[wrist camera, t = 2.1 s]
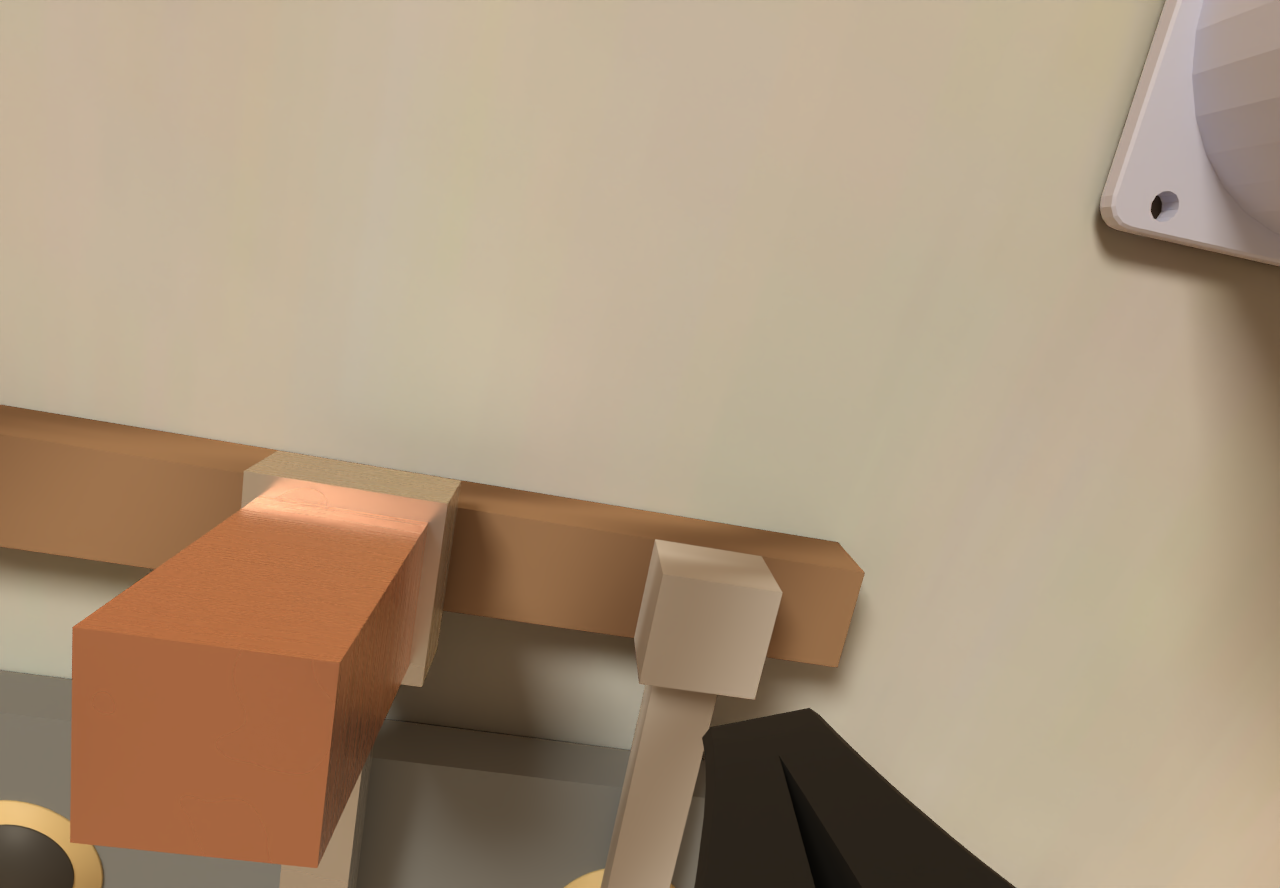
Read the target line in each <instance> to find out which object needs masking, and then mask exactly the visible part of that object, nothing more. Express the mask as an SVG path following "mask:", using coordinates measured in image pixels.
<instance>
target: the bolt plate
mask: <svg viewBox="0 0 1280 888" xmlns="http://www.w3.org/2000/svg"><path fill="white" fill-rule="evenodd" d="M71 723H72V679H65V678H57V677H49V676H41V675H33V674H25V673H17V672H9V671H2V670H0V888H279V885H280V874H281V864H271V863H262V862H252V861H242V860H233V859H223V858H213V857H204V856H194V855H184V854H175V853H165V852H155V851H146V850H136V849H127V848H117V847H107V846H98V845H88V844H78V843H70V805H71ZM630 752H631V750H624V749H616V748H608V747H600V746H592V745H584V744H577V743H569V742H561V741H553V740H545V739H537V738H529V737H521V736H514V735H506V734H498V733H490V732H482V731H474V730H466V729H458V728H451V727H443V726H435V725H427V724H419V723H411V722H403V721H395V720H388V719H385V720H384V722H383V725H382V727H381V729H380V731H379V733H378V736H377V738H376V740H375V742H374V745H373V753H372V761H371V769H370V777H369V785H368V793H367V801H366V809H365V817H364V825H363V833H362V841H361V849H360V857H359V865H358V873H357V881H356V888H601V883H602V879H603V874H604V870H605V865H606V861H607V856H608V852H609V847H610V843H611V838H612V834H613V829H614V825H615V820H616V815H617V811H618V806H619V802H620V797H621V793H622V788H623V784H624V779H625V775H626V770H627V766H628V761H629V757H630ZM705 788H706V765H705V760H703V759H701V763H700V767H699V771H698V775H697V779H696V783H695V787H694V791H693V795H692V800H691V804H690V808H689V812H688V816H687V820H686V824H685V828H684V832H683V836H682V840H681V844H680V848H679V852H678V856H677V860H676V864H675V868H674V872H673V876H672V880H671V884H670V888H694V885H695V879H696V873H697V866H698V858H699V850H700V842H701V834H702V826H703V818H704V804H705Z"/></svg>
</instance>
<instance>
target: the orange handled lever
mask: <svg viewBox="0 0 1280 888" xmlns="http://www.w3.org/2000/svg"><path fill="white" fill-rule="evenodd" d="M460 487H461V481H460V480H454V479H448V478H442V477H436V476H430V475H424V474H418V473H412V472H406V471H400V470H393V469H387V468H381V467H375V466H369V465H363V464H357V463H351V462H345V461H339V460H333V459H327V458H320V457H314V456H308V455H302V454H296V453H290V452H284V451H276V452H275V453H273V454H271V455H270V456H268V457H266V458H265V459H263V460H261V461H260V462H258V463H256V464H255V465H253V466H251V467H250V468H248V469H246V470H245V471H244V476H243V490H242V504H241V509H240V510H239V511H237V512H236V513H235V514H233V515H232V516H230V517H229V518H227V519H226V520H225V521H223V522H222V523H220V524H219V525H217V526H216V527H215V528H213V529H212V530H210V531H209V532H207V533H206V534H205V535H203V536H202V537H200V538H199V539H198V540H196V541H195V542H193V543H192V544H190V545H189V546H188V547H186V548H185V549H183V550H182V551H180V552H179V553H178V554H176V555H175V556H173V557H172V558H170V559H169V560H168V561H166V562H165V563H163V564H162V565H160V566H159V567H158V568H156V569H155V570H153V571H152V572H151V573H149V574H148V575H146V576H145V577H143V578H142V579H141V580H139V581H138V582H136V583H135V584H133V585H132V586H131V587H129V588H128V589H126V590H125V591H123V592H122V593H121V594H119V595H118V596H116V597H115V598H113V599H112V600H111V601H109V602H108V603H106V604H105V605H104V606H102V607H101V608H99V609H98V610H96V611H95V612H94V613H92V614H91V615H89V616H88V617H86V618H85V619H84V620H82V621H81V622H79V623H78V624H76V625H75V626H74V627H73V641H72V723H71V805H70V843H78V844H88V845H98V846H107V847H117V848H127V849H136V850H146V851H155V852H165V853H175V854H184V855H194V856H204V857H213V858H223V859H233V860H242V861H252V862H262V863H271V864H281V874H280V885H279V888H356V881H357V873H358V865H359V857H360V849H361V841H362V833H363V825H364V817H365V809H366V801H367V793H368V785H369V777H370V769H371V761H372V753H373V745H374V742H375V740H376V738H377V736H378V733H379V731H380V729H381V727H382V725H383V722H384V720H385V718H386V716H387V714H388V711H389V709H390V707H391V705H392V703H393V700H394V698H395V696H396V694H397V692H398V689H399V687H400V685H401V684H402V685H409V686H417V687H422V686H423V683H424V681H425V678H426V676H427V674H428V671H429V669H430V666H431V664H432V661H433V659H434V656H435V654H436V651H437V648H438V641H439V634H440V627H441V620H442V613H443V606H444V599H445V592H446V585H447V578H448V571H449V564H450V557H451V550H452V543H453V536H454V529H455V522H456V515H457V508H458V501H459V494H460Z"/></svg>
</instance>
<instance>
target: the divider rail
mask: <svg viewBox="0 0 1280 888" xmlns="http://www.w3.org/2000/svg"><path fill="white" fill-rule="evenodd" d="M276 451H279V450H273V449H267V448H261V447H255V446H248V445H242V444H236V443H230V442H224V441H218V440H212V439H206V438H200V437H194V436H188V435H181V434H175V433H169V432H163V431H157V430H151V429H145V428H139V427H133V426H127V425H121V424H115V423H108V422H102V421H96V420H90V419H84V418H78V417H72V416H66V415H60V414H54V413H48V412H42V411H35V410H29V409H23V408H17V407H11V406H5V405H0V547H6V548H13V549H20V550H27V551H34V552H41V553H48V554H55V555H62V556H69V557H76V558H82V559H89V560H96V561H103V562H110V563H117V564H124V565H131V566H138V567H145V568H152V569H156V568H158V567H159V566H160V565H162V564H163V563H165V562H166V561H168V560H169V559H170V558H172V557H173V556H175V555H176V554H178V553H179V552H180V551H182V550H183V549H185V548H186V547H188V546H189V545H190V544H192V543H193V542H195V541H196V540H198V539H199V538H200V537H202V536H203V535H205V534H206V533H207V532H209V531H210V530H212V529H213V528H215V527H216V526H217V525H219V524H220V523H222V522H223V521H225V520H226V519H227V518H229V517H230V516H232V515H233V514H235V513H236V512H237V511H239V510H240V509H241V504H242V490H243V476H244V471H245V470H246V469H248V468H250V467H251V466H253V465H255V464H256V463H258V462H260V461H261V460H263V459H265V458H266V457H268V456H270V455H271V454H273V453H275V452H276ZM284 452H285V451H284ZM290 453H291V452H290ZM296 454H297V453H296ZM302 455H303V454H302ZM308 456H309V455H308ZM314 457H315V456H314ZM320 458H321V457H320ZM327 459H328V458H327ZM333 460H334V459H333ZM339 461H340V460H339ZM345 462H346V461H345ZM351 463H352V462H351ZM357 464H358V463H357ZM363 465H364V464H363ZM369 466H370V465H369ZM375 467H376V466H375ZM381 468H382V467H381ZM387 469H388V468H387ZM393 470H394V469H393ZM400 471H401V470H400ZM406 472H407V471H406ZM412 473H413V472H412ZM418 474H419V473H418ZM424 475H425V474H424ZM430 476H431V475H430ZM436 477H437V476H436ZM442 478H443V477H442ZM448 479H449V478H448ZM454 480H455V479H454ZM460 481H461V480H460ZM863 577H864V571H863V570H862V569H861V568H860V567H859V566H858V565H857V563H856V562H855V561H854V560H853V559H852V558H851V557H850V555H849V554H848V553H847V552H846V551H845V550H844V549H843V548H842V546H841V545H840V544H839V543H838V542H833V541H827V540H820V539H814V538H808V537H802V536H796V535H790V534H784V533H778V532H772V531H766V530H760V529H753V528H747V527H741V526H735V525H729V524H723V523H717V522H711V521H705V520H699V519H693V518H687V517H680V516H674V515H668V514H662V513H656V512H650V511H644V510H638V509H632V508H626V507H620V506H614V505H607V504H601V503H595V502H589V501H583V500H577V499H571V498H565V497H559V496H553V495H547V494H541V493H534V492H528V491H522V490H516V489H510V488H504V487H498V486H492V485H486V484H480V483H474V482H467V481H461V487H460V494H459V501H458V508H457V515H456V522H455V529H454V536H453V543H452V550H451V557H450V564H449V571H448V578H447V585H446V592H445V599H444V606H443V611H450V612H457V613H463V614H470V615H477V616H484V617H491V618H498V619H505V620H512V621H519V622H526V623H533V624H540V625H547V626H554V627H560V628H567V629H574V630H581V631H588V632H595V633H602V634H609V635H616V636H623V637H630V638H634V642H635V651H636V660H637V669H638V678H639V684H645V689H644V693H643V698H642V702H641V707H640V711H639V716H638V720H637V725H636V729H635V734H634V738H633V743H632V748H631V752H630V757H629V761H628V766H627V770H626V775H625V779H624V784H623V788H622V793H621V797H620V802H619V806H618V811H617V815H616V820H615V825H614V829H613V834H612V838H611V843H610V847H609V852H608V856H607V861H606V865H605V870H604V874H603V879H602V883H601V888H670V884H671V880H672V876H673V872H674V868H675V864H676V860H677V856H678V852H679V848H680V844H681V840H682V836H683V832H684V828H685V824H686V820H687V816H688V812H689V808H690V804H691V800H692V795H693V791H694V787H695V783H696V779H697V775H698V771H699V767H700V763H701V759H702V755H703V751H704V747H703V741H702V737H703V736H704V734H705V733H706V732H707V731H708V729H709V727H710V723H711V719H712V715H713V711H714V707H715V703H716V699H717V695H725V696H732V697H739V698H746V699H754V700H755V696H756V693H757V689H758V685H759V681H760V677H761V673H762V670H763V666H764V662H765V658H766V657H768V658H775V659H782V660H789V661H796V662H803V663H810V664H817V665H824V666H831V667H838V663H839V660H840V657H841V653H842V650H843V646H844V643H845V639H846V636H847V632H848V629H849V625H850V622H851V618H852V615H853V611H854V608H855V605H856V601H857V598H858V594H859V591H860V587H861V584H862V580H863Z"/></svg>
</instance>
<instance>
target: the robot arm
mask: <svg viewBox="0 0 1280 888" xmlns="http://www.w3.org/2000/svg"><path fill="white" fill-rule="evenodd" d="M1156 196H1159V197H1160V199H1161V202H1162V210H1161V213H1160V214H1159V216H1158V217H1157V218H1156V219H1154V218H1153V216H1152V213H1151V203H1152V202H1153V200H1154V198H1155V197H1156ZM1100 211H1101V216H1102V219H1103V220H1104V221H1105V223H1106V224H1107V225H1108V226H1109V227H1111V228H1114V229H1116V230H1119V231H1123V232H1128V233H1132V234H1137V235H1141V236H1146V237H1150V238H1155V239H1159V240H1164V241H1168V242H1172V243H1177V244H1181V245H1186V246H1190V247H1195V248H1199V249H1204V250H1208V251H1213V252H1217V253H1222V254H1226V255H1230V256H1235V257H1239V258H1244V259H1248V260H1253V261H1257V262H1262V263H1266V264H1271V265H1275V266H1280V0H1166V1H1165V4H1164V7H1163V10H1162V13H1161V16H1160V19H1159V22H1158V25H1157V29H1156V32H1155V35H1154V38H1153V41H1152V44H1151V47H1150V50H1149V53H1148V56H1147V59H1146V62H1145V65H1144V68H1143V71H1142V74H1141V77H1140V80H1139V83H1138V86H1137V89H1136V93H1135V96H1134V99H1133V102H1132V105H1131V108H1130V111H1129V114H1128V117H1127V120H1126V123H1125V126H1124V129H1123V132H1122V135H1121V138H1120V141H1119V144H1118V147H1117V150H1116V153H1115V157H1114V160H1113V163H1112V166H1111V169H1110V172H1109V175H1108V178H1107V181H1106V184H1105V187H1104V190H1103V193H1102V196H1101V202H1100ZM702 741H703V747H704V752H705V765H706V788H705V804H704V818H703V826H702V834H701V842H700V850H699V858H698V866H697V873H696V879H695V885H694V888H1016V887H1014V886H1013V885H1012V884H1011V883H1009V882H1008V881H1007V880H1005V879H1004V878H1003V877H1001V876H1000V875H999V874H998V873H996V872H995V871H994V870H992V869H991V868H990V867H989V866H987V865H986V864H985V863H983V862H982V861H981V860H980V859H978V858H977V857H976V856H975V855H973V854H972V853H971V852H970V851H969V850H967V849H966V848H965V847H964V846H962V845H961V844H960V843H959V842H957V841H956V840H955V839H954V838H953V837H951V836H950V835H949V834H948V833H947V832H946V831H944V830H943V829H942V828H941V827H940V826H939V825H937V824H936V823H935V822H934V821H933V820H932V819H930V818H929V817H928V816H927V815H926V814H925V813H923V812H922V811H921V810H920V809H919V808H917V807H916V806H915V805H914V804H913V803H912V802H910V801H909V800H908V799H907V798H906V797H905V796H904V795H902V794H901V793H900V792H899V791H898V790H897V789H896V788H895V787H894V786H892V785H891V784H890V783H889V782H888V781H887V780H886V779H885V778H884V777H883V776H882V775H880V774H879V773H878V772H877V771H876V770H875V769H874V768H873V767H872V766H871V765H870V764H869V763H868V762H866V761H865V760H864V759H863V758H862V757H861V756H860V755H859V754H858V753H857V752H856V751H855V750H854V749H853V748H852V747H851V746H850V745H849V744H848V743H847V742H846V741H845V740H844V739H843V738H842V737H841V736H840V735H839V734H838V733H837V732H836V731H835V730H834V729H833V728H832V727H831V726H830V725H829V724H828V723H827V722H826V721H825V720H824V719H823V718H822V717H821V716H820V715H819V714H817V713H816V712H814V711H813V710H812V709H810V708H807V709H802V710H797V711H792V712H787V713H782V714H777V715H772V716H767V717H761V718H756V719H751V720H746V721H741V722H736V723H731V724H726V725H720V726H715V727H710V728H709V729H708V731H707V732H706V733H705V734H704V736H703V737H702Z"/></svg>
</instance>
